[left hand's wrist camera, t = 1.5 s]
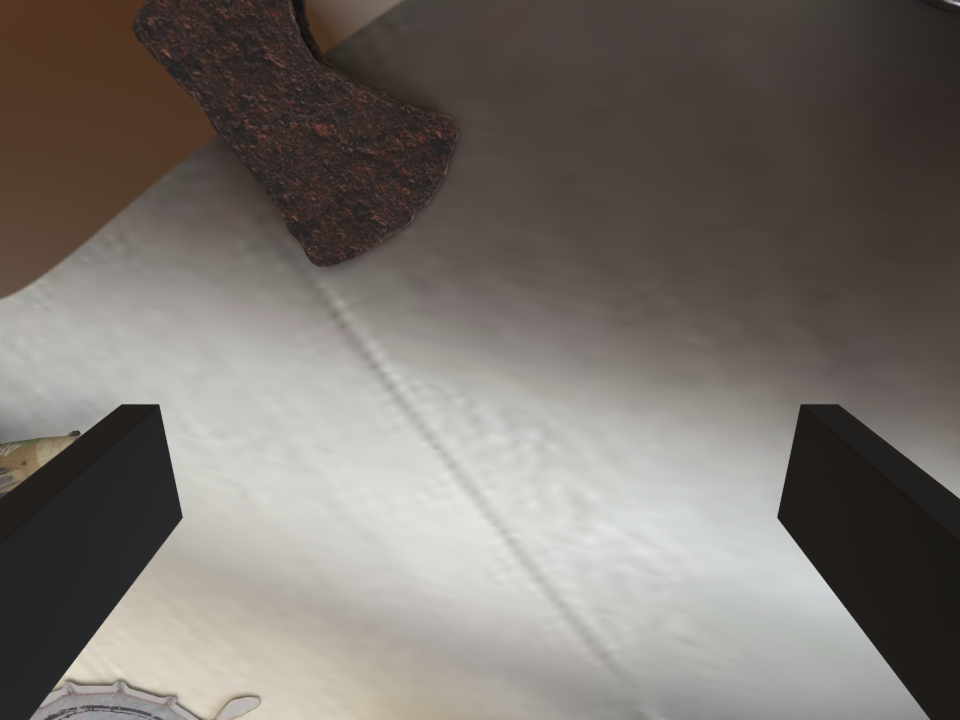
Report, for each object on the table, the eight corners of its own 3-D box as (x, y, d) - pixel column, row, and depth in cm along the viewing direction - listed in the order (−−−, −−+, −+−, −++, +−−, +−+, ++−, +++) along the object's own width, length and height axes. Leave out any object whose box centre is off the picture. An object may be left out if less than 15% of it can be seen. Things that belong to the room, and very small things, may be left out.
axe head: (516, 143, 38) (343, 306, 39) (479, 142, 46) (334, 280, 46) (293, -157, 30) (78, 52, 31) (292, -101, 37) (117, 68, 38)
